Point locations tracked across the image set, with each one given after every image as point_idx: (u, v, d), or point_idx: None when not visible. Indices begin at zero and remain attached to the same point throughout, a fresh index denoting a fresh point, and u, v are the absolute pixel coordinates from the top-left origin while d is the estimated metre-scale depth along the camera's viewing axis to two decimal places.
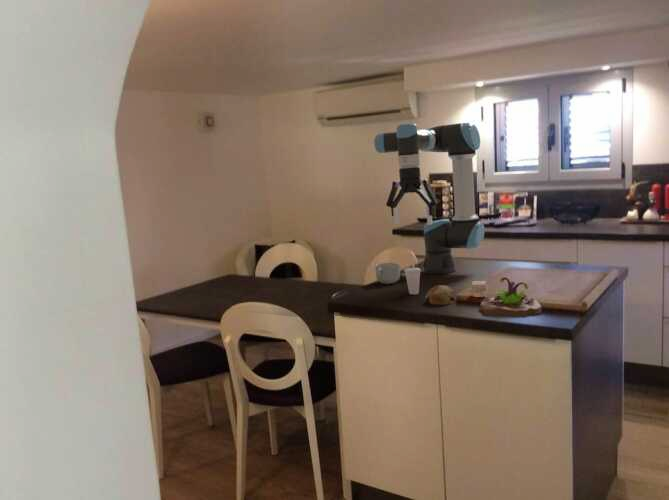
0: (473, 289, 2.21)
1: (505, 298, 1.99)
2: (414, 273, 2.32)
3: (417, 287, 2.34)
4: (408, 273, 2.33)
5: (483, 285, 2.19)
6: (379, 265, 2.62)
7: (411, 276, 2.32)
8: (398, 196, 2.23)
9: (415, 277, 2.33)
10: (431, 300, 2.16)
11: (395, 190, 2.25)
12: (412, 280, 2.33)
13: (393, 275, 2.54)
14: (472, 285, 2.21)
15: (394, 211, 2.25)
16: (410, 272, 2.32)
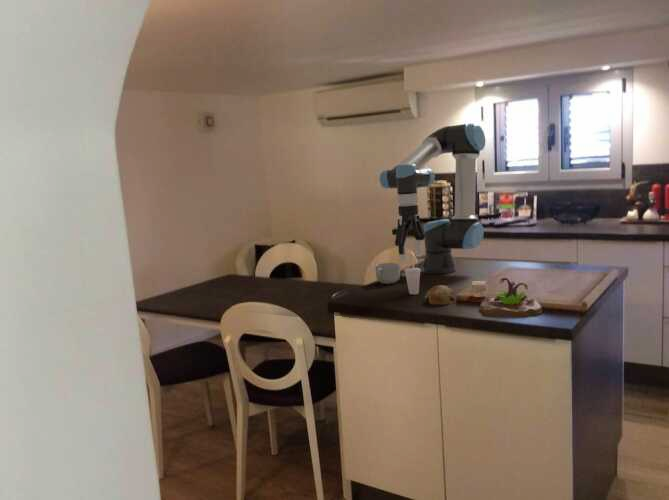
0: (473, 289, 2.21)
1: (505, 299, 1.98)
2: (414, 273, 2.32)
3: (417, 287, 2.34)
4: (408, 273, 2.33)
5: (483, 285, 2.19)
6: (379, 265, 2.62)
7: (411, 276, 2.32)
8: None
9: (415, 277, 2.33)
10: (430, 300, 2.16)
11: None
12: (412, 280, 2.33)
13: (393, 275, 2.54)
14: (472, 285, 2.21)
15: (415, 243, 2.39)
16: (410, 272, 2.32)
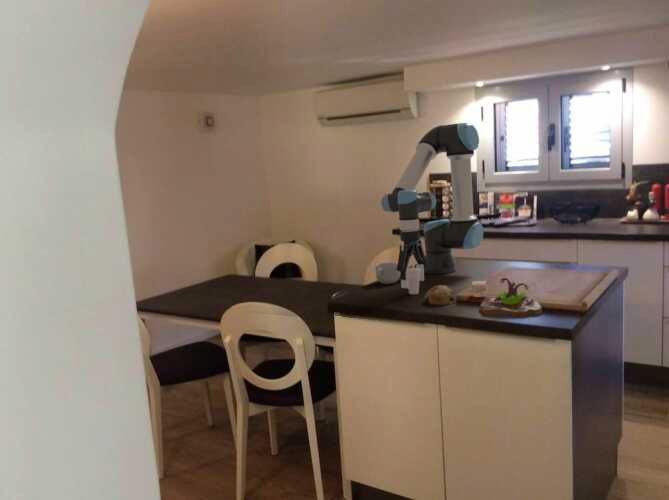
0: (473, 289, 2.21)
1: (505, 299, 1.98)
2: (414, 273, 2.32)
3: (417, 287, 2.34)
4: (408, 273, 2.33)
5: (483, 285, 2.19)
6: (379, 265, 2.62)
7: (411, 276, 2.32)
8: None
9: (415, 277, 2.33)
10: (430, 300, 2.16)
11: (417, 248, 2.39)
12: (412, 280, 2.33)
13: (393, 275, 2.54)
14: (472, 285, 2.21)
15: (417, 267, 2.41)
16: (410, 272, 2.32)
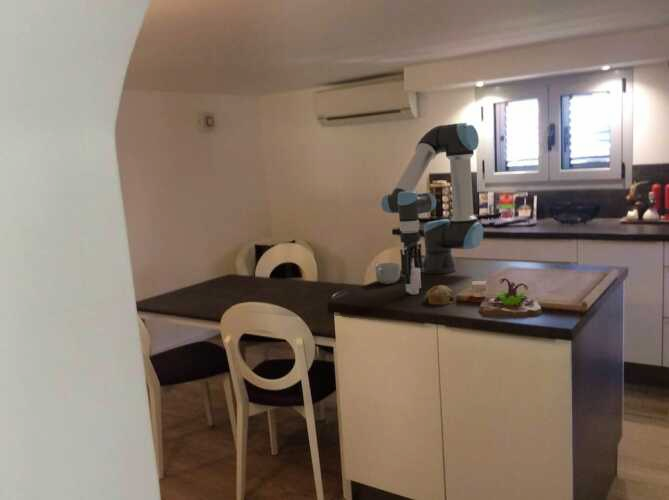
0: (473, 289, 2.21)
1: (505, 299, 1.98)
2: (414, 273, 2.32)
3: (417, 287, 2.34)
4: None
5: (483, 285, 2.19)
6: (379, 265, 2.62)
7: None
8: None
9: (415, 277, 2.33)
10: (430, 300, 2.16)
11: None
12: None
13: (393, 275, 2.54)
14: (472, 285, 2.21)
15: None
16: None
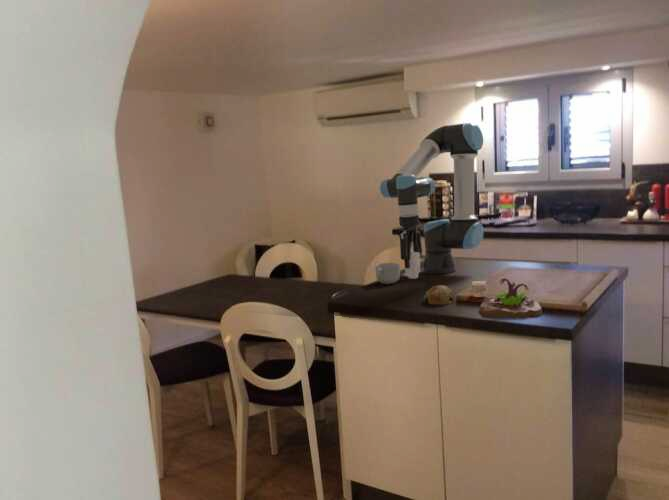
0: (473, 289, 2.21)
1: (505, 299, 1.97)
2: (413, 257, 2.31)
3: (416, 271, 2.33)
4: None
5: (483, 285, 2.19)
6: (379, 265, 2.62)
7: None
8: None
9: (414, 261, 2.32)
10: (430, 300, 2.16)
11: None
12: None
13: (393, 275, 2.54)
14: (472, 285, 2.21)
15: None
16: None
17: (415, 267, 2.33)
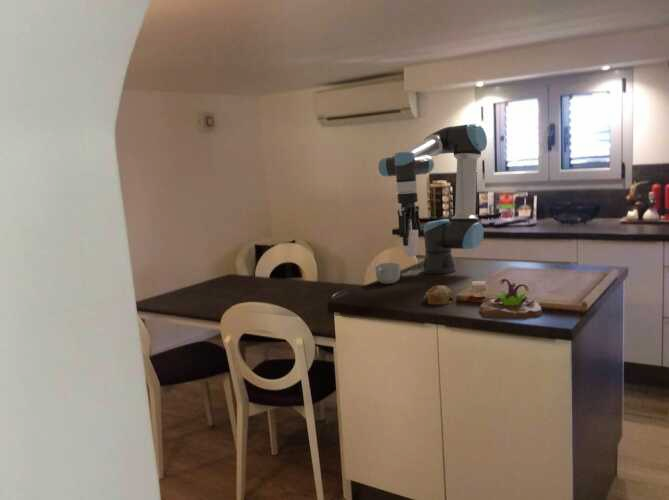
0: (473, 289, 2.21)
1: (505, 300, 1.97)
2: (412, 235, 2.30)
3: (415, 249, 2.32)
4: None
5: (483, 285, 2.19)
6: (379, 265, 2.62)
7: None
8: None
9: (413, 239, 2.30)
10: (429, 300, 2.16)
11: None
12: (410, 242, 2.31)
13: (393, 275, 2.54)
14: (472, 285, 2.21)
15: None
16: None
17: (413, 245, 2.31)
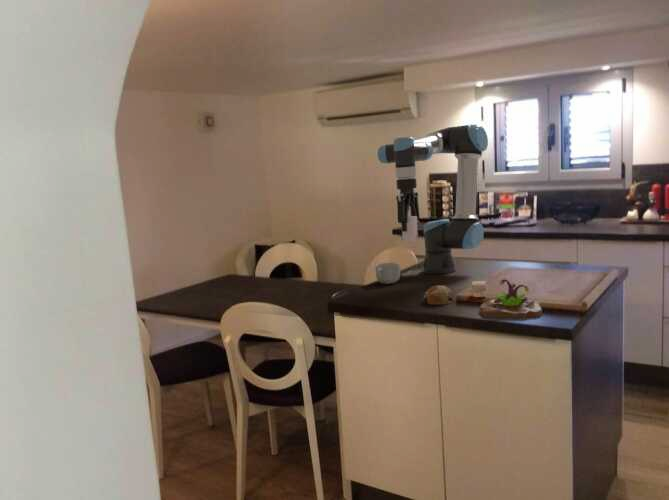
0: (473, 289, 2.21)
1: (505, 300, 1.96)
2: (410, 220, 2.29)
3: (414, 235, 2.31)
4: None
5: (483, 285, 2.20)
6: (379, 265, 2.62)
7: None
8: None
9: (412, 225, 2.29)
10: (429, 300, 2.17)
11: None
12: None
13: (393, 275, 2.54)
14: (472, 285, 2.21)
15: None
16: None
17: (412, 231, 2.30)
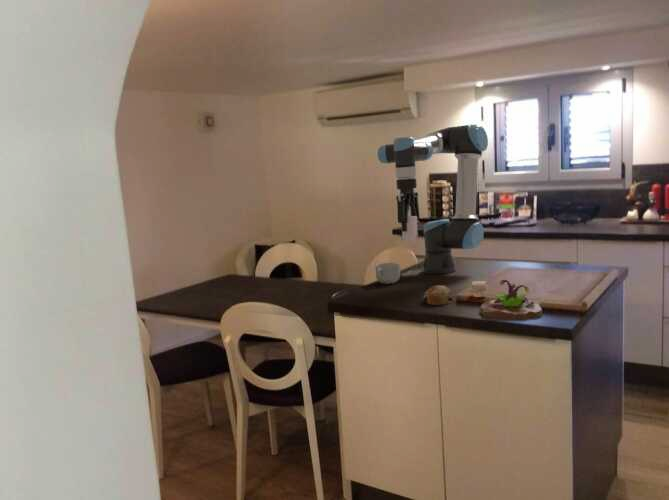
0: (473, 289, 2.21)
1: (505, 301, 1.96)
2: (410, 220, 2.29)
3: (414, 235, 2.31)
4: None
5: (483, 285, 2.20)
6: (379, 265, 2.62)
7: None
8: None
9: (412, 225, 2.29)
10: (429, 300, 2.17)
11: None
12: None
13: (393, 275, 2.54)
14: (472, 285, 2.21)
15: None
16: None
17: (412, 231, 2.30)
